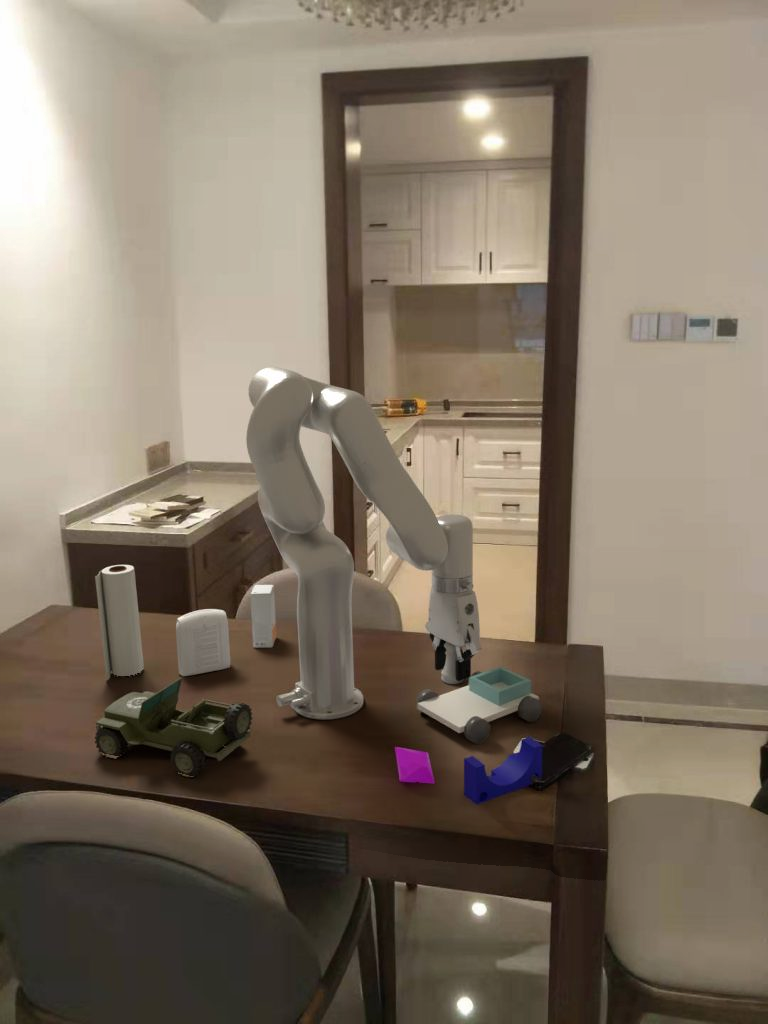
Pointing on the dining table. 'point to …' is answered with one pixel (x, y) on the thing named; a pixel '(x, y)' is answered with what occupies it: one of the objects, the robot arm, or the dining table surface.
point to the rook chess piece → (450, 665)
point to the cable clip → (503, 773)
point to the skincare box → (263, 616)
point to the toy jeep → (173, 727)
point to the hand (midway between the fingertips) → (452, 672)
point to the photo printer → (202, 642)
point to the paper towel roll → (119, 620)
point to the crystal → (414, 766)
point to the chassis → (482, 702)
